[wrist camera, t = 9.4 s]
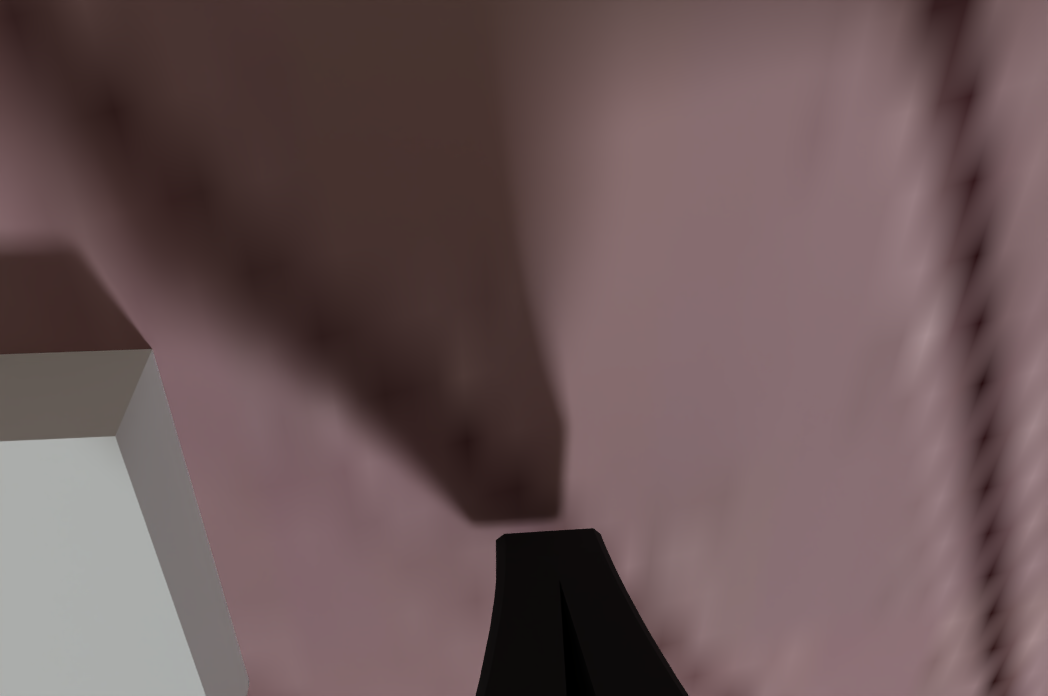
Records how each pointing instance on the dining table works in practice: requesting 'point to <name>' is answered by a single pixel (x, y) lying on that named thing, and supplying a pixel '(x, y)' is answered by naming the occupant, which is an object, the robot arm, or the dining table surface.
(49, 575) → the tile
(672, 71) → the dining table surface
